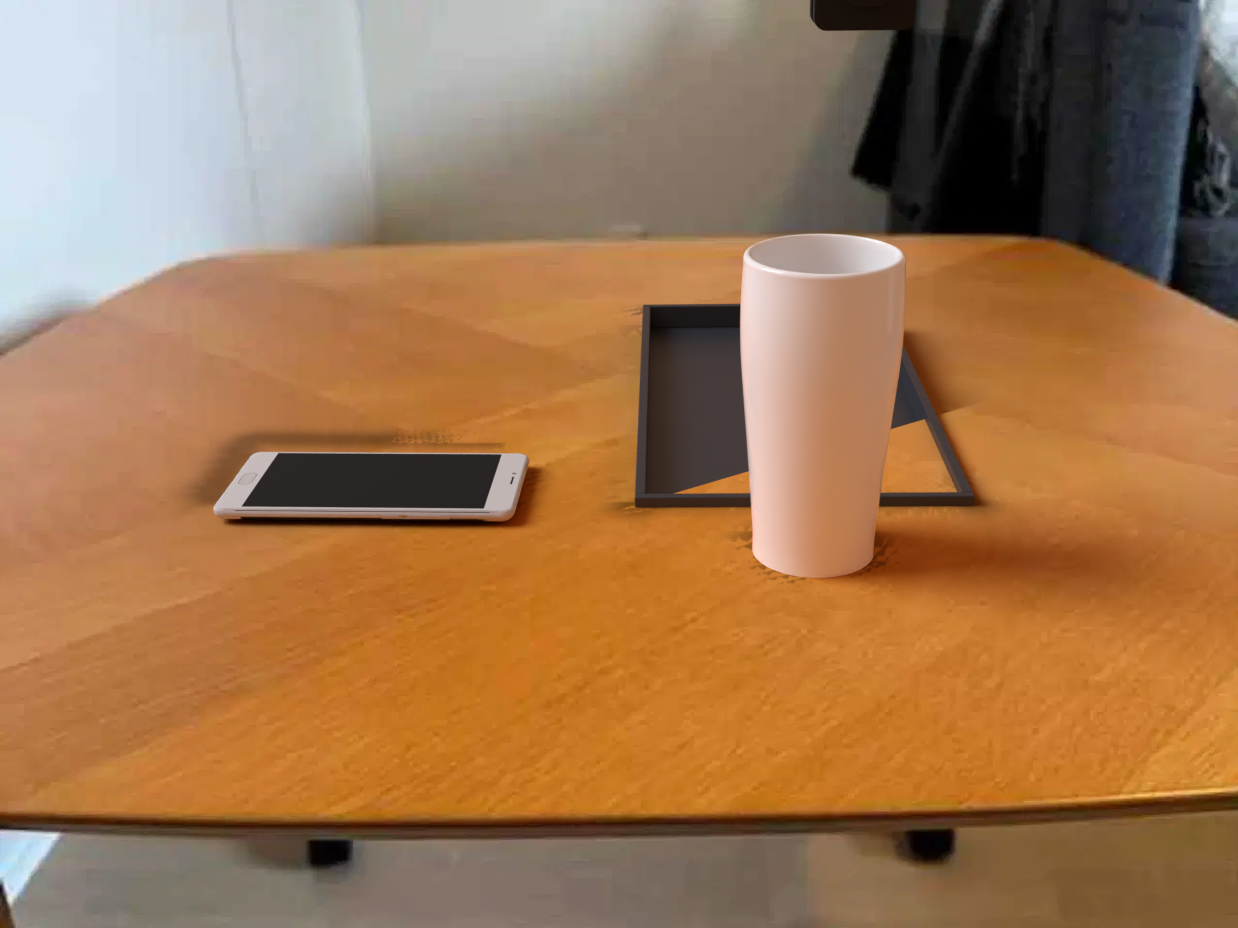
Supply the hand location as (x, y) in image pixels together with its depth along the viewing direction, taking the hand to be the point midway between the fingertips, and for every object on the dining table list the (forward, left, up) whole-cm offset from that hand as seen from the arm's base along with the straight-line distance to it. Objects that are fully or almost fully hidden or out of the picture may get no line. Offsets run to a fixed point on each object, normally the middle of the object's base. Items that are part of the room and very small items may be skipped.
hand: (861, 26), depth 47 cm
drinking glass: (-5, -7, -25) cm, 27 cm away
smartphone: (+7, -27, -25) cm, 38 cm away
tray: (-17, -24, -25) cm, 38 cm away
